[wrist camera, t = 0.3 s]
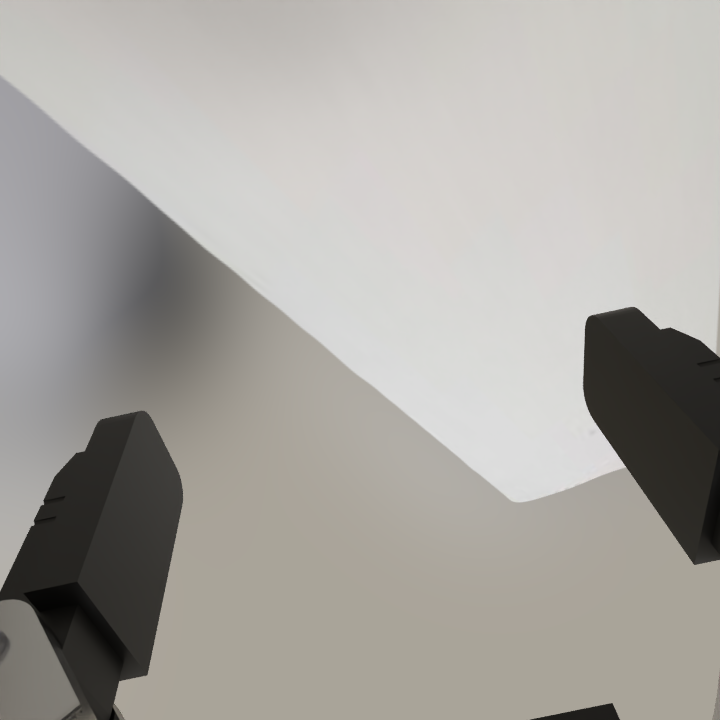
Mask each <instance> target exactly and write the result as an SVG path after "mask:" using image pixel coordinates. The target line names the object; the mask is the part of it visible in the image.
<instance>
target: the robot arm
mask: <svg viewBox="0 0 720 720" xmlns="http://www.w3.org/2000/svg"><path fill="white" fill-rule="evenodd" d="M583 390H584V397H585V401H586V404H587V407H588V410H589V412H590V415H591V416H592V418H593V420H594V421H595V423H596V424H597V426H598V427H599V429H600V430H601V431H602V433H603V434H604V436H605V437H606V439H607V440H608V441H609V443H610V444H611V446H612V447H613V449H614V450H615V452H616V453H617V454H618V456H619V457H620V459H621V460H622V462H623V463H624V464H625V466H626V467H627V469H628V470H629V471H630V473H631V475H632V476H633V477H634V479H635V480H636V482H637V483H638V485H639V486H640V487H641V489H642V490H643V492H644V493H645V494H646V496H647V498H648V499H649V500H650V502H651V503H652V505H653V506H654V507H655V509H656V510H657V512H658V513H659V515H660V516H661V518H662V519H663V521H664V522H665V523H666V525H667V526H668V528H669V529H670V531H671V532H672V533H673V535H674V536H675V538H676V539H677V541H678V542H679V544H680V545H681V546H682V548H683V549H684V551H685V552H686V554H687V555H688V557H689V558H690V559H691V561H692V562H693V564H694V565H696V564H701V563H705V562H711V561H716V560H720V358H719V357H718V356H717V355H716V354H715V353H714V352H713V351H711V350H710V349H709V348H708V347H707V346H706V345H705V344H703V343H702V342H701V341H700V340H698V339H695V338H693V337H691V336H689V335H686V334H684V333H682V332H679V331H677V330H675V329H673V328H666V329H661V330H660V329H659V328H658V327H657V326H656V325H655V324H654V323H653V322H652V321H650V320H649V319H648V318H647V317H646V316H645V315H644V314H643V313H642V312H641V311H640V310H639V309H637V308H635V307H629V308H624V309H619V310H615V311H610V312H605V313H601V314H596V315H592V316H589V317H588V319H587V321H586V325H585V346H584V376H583ZM182 503H183V489H182V483H181V479H180V475H179V473H178V470H177V468H176V466H175V464H174V462H173V460H172V458H171V456H170V454H169V452H168V450H167V448H166V446H165V444H164V442H163V440H162V438H161V436H160V434H159V432H158V430H157V428H156V426H155V424H154V422H153V421H152V419H151V417H150V416H149V414H148V413H147V412H145V411H138V412H134V413H129V414H124V415H120V416H115V417H110V418H105V419H102V420H100V421H99V422H98V423H97V425H96V427H95V429H94V432H93V434H92V436H91V439H90V441H89V443H88V445H87V448H86V450H85V451H84V452H80V453H76V454H75V455H74V456H73V457H72V458H71V459H70V461H69V462H68V463H67V464H66V465H65V466H64V467H63V468H62V469H61V470H60V472H59V473H58V474H57V475H56V476H55V477H54V479H53V482H52V484H51V486H50V488H49V490H48V492H47V494H46V496H45V498H44V505H42V506H41V507H40V509H39V511H38V513H37V515H36V517H35V519H34V523H35V525H34V526H31V528H30V530H29V532H28V534H27V537H26V538H25V541H24V543H23V545H22V547H21V549H20V551H19V553H18V555H17V558H16V559H15V562H14V564H13V566H12V568H11V570H10V572H9V574H8V576H7V578H6V581H5V583H4V585H3V587H2V589H1V591H0V720H125V719H124V717H123V716H122V714H121V712H120V711H119V709H118V708H117V706H116V705H115V704H114V700H115V696H116V691H117V688H118V683H119V681H122V680H126V679H131V678H136V677H141V676H146V675H147V674H148V670H149V665H150V660H151V655H152V650H153V645H154V640H155V635H156V631H157V625H158V621H159V615H160V611H161V606H162V601H163V596H164V592H165V587H166V582H167V577H168V572H169V567H170V562H171V558H172V552H173V548H174V543H175V538H176V533H177V528H178V523H179V518H180V513H181V509H182ZM531 720H620V719H619V717H618V715H617V712H616V710H615V708H614V706H613V704H612V703H611V704H606V705H600V706H595V707H591V708H586V709H581V710H576V711H571V712H566V713H561V714H556V715H551V716H546V717H541V718H536V719H531ZM713 720H720V675H719V684H718V691H717V698H716V704H715V710H714V715H713Z"/></svg>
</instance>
